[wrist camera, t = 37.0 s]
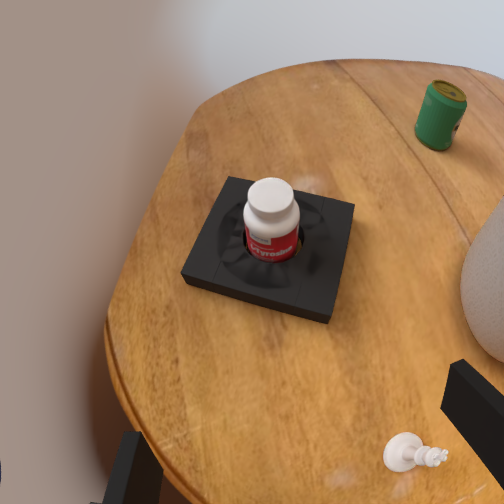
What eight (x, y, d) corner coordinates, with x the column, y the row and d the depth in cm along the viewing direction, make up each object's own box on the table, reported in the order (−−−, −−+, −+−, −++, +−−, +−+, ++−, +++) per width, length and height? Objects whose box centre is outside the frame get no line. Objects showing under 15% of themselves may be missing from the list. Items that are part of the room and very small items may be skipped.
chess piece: (429, 447, 26) (475, 450, 18) (401, 479, 25) (441, 493, 16) (403, 424, 28) (446, 421, 20) (374, 456, 27) (409, 466, 18)
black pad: (186, 283, 39) (180, 273, 37) (230, 189, 47) (228, 176, 44) (327, 324, 36) (331, 316, 33) (350, 217, 43) (354, 204, 40)
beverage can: (446, 158, 48) (468, 108, 38) (409, 139, 51) (426, 88, 41) (451, 138, 52) (469, 91, 41) (417, 121, 54) (432, 73, 44)
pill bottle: (246, 269, 40) (236, 216, 30) (251, 228, 43) (243, 171, 33) (295, 272, 39) (301, 219, 30) (297, 231, 42) (301, 173, 33)
